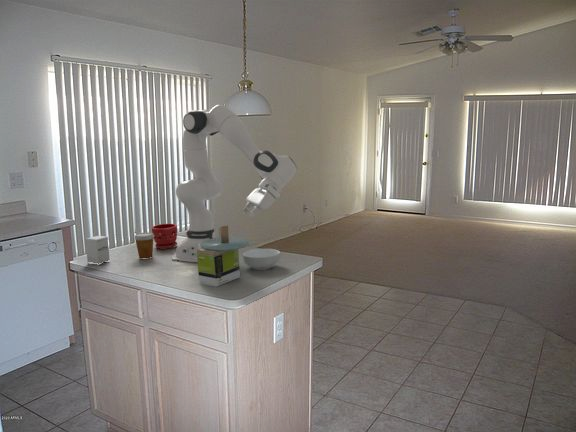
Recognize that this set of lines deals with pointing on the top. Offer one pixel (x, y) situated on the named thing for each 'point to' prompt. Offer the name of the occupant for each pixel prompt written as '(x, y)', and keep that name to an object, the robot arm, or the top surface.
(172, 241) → the plant pot
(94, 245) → the supplement box
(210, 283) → the tea box
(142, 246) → the glass of beer
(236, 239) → the cover
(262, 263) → the cereal bowl
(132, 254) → the top surface
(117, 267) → the top surface
